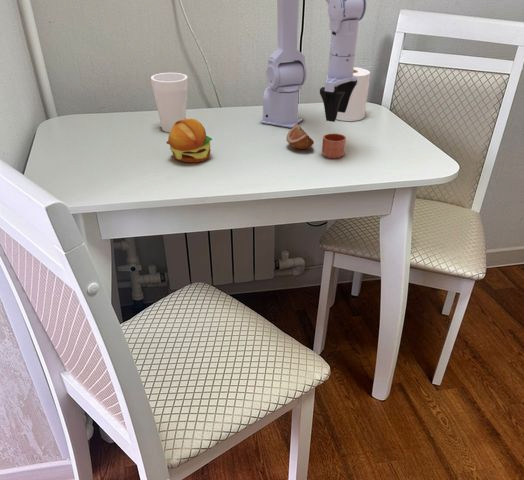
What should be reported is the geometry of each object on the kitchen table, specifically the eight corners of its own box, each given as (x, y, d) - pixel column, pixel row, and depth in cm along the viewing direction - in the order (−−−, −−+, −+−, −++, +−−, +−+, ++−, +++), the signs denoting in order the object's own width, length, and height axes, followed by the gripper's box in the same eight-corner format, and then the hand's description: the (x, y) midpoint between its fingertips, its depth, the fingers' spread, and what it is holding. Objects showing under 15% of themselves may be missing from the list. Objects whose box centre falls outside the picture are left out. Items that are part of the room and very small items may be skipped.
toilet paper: (322, 116, 160) (326, 71, 152) (341, 108, 166) (345, 64, 158) (352, 123, 155) (358, 77, 147) (370, 115, 162) (376, 70, 154)
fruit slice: (317, 153, 137) (319, 133, 134) (292, 155, 136) (293, 135, 133) (307, 141, 144) (308, 122, 140) (282, 143, 142) (283, 124, 139)
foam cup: (197, 127, 151) (194, 76, 142) (176, 136, 145) (172, 84, 136) (171, 120, 155) (166, 70, 146) (149, 129, 149) (143, 78, 140)
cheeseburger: (219, 151, 137) (215, 113, 129) (203, 176, 131) (197, 139, 123) (183, 145, 139) (176, 108, 131) (165, 169, 134) (157, 132, 126)
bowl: (318, 157, 136) (319, 139, 133) (325, 149, 140) (327, 132, 137) (339, 160, 134) (341, 142, 131) (346, 153, 138) (348, 135, 135)
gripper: (349, 63, 117) (342, 127, 126) (368, 49, 127) (360, 110, 136) (318, 59, 119) (313, 123, 128) (339, 45, 129) (333, 106, 138)
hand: (335, 116), depth 132 cm, fingers open, 7 cm apart
